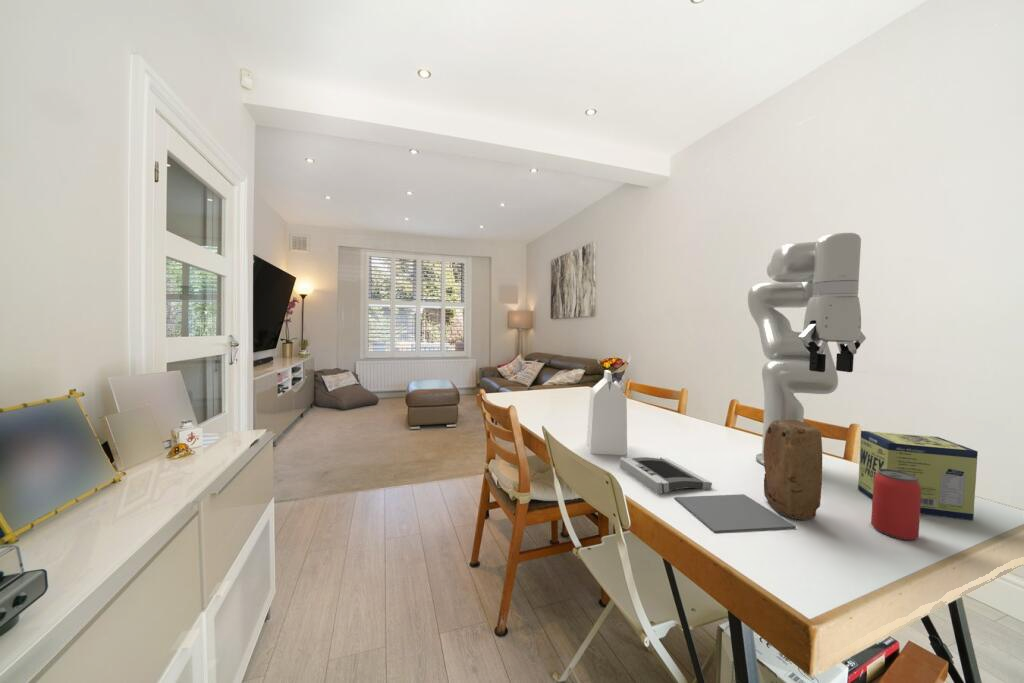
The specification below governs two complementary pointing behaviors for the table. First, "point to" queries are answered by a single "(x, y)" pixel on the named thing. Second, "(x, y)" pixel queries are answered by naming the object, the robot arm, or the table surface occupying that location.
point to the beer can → (896, 504)
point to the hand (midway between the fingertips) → (830, 370)
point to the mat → (732, 513)
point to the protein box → (923, 470)
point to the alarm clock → (662, 474)
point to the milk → (607, 418)
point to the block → (793, 468)
